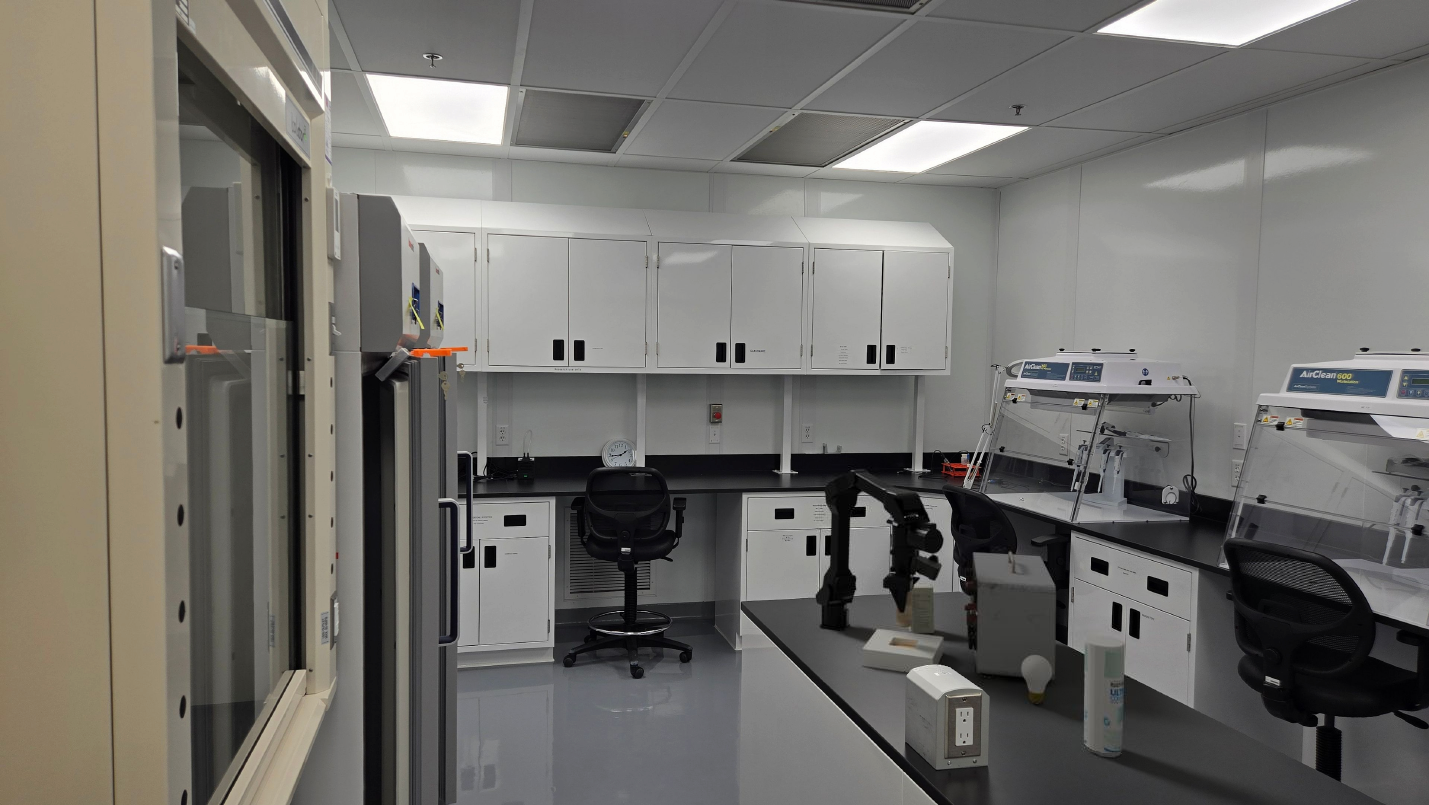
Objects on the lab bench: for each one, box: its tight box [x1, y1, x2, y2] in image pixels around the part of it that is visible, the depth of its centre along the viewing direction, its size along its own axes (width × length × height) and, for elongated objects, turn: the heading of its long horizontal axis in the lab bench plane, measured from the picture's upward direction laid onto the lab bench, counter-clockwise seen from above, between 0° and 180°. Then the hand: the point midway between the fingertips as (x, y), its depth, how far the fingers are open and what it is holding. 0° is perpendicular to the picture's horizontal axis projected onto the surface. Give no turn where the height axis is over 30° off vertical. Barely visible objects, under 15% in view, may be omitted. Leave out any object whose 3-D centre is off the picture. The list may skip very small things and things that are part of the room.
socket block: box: [861, 628, 944, 673], centre depth 194 cm, size 16×16×4 cm
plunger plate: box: [894, 644, 915, 648], centre depth 194 cm, size 5×5×1 cm
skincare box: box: [908, 583, 935, 634], centre depth 215 cm, size 6×4×12 cm
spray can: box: [1083, 634, 1126, 753], centre depth 147 cm, size 6×6×20 cm
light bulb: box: [1021, 655, 1052, 704], centre depth 168 cm, size 6×6×10 cm
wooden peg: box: [895, 590, 912, 628], centre depth 193 cm, size 4×4×10 cm
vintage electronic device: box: [964, 551, 1057, 683], centre depth 194 cm, size 32×18×25 cm, turn 164°
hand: (903, 610), depth 194 cm, fingers closed on wooden peg, 4 cm apart
